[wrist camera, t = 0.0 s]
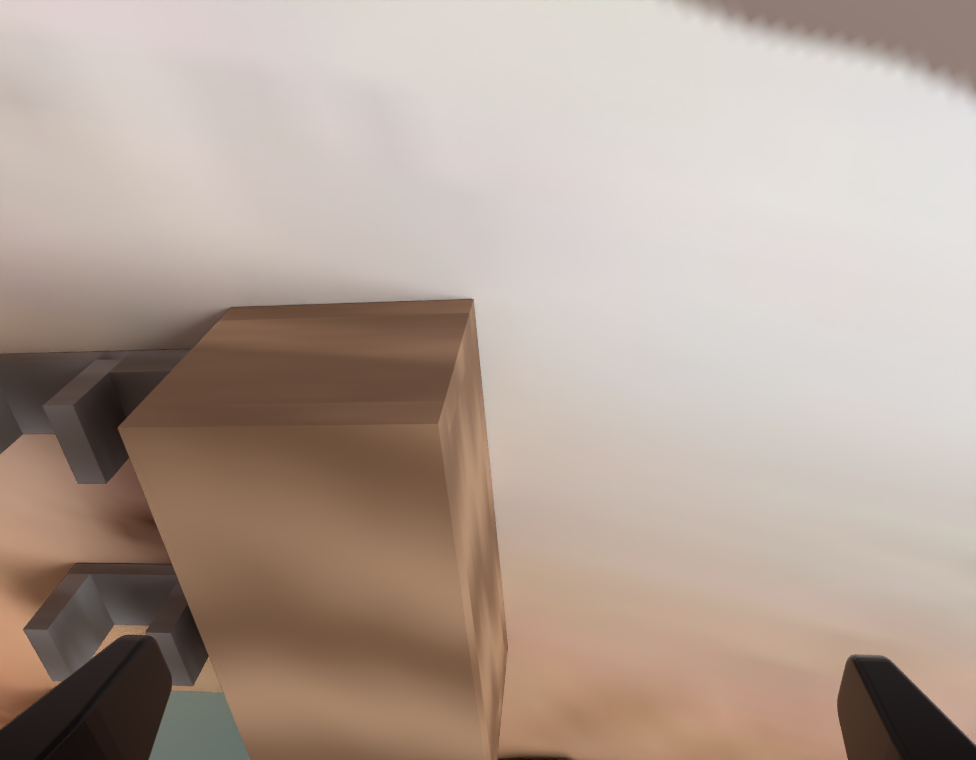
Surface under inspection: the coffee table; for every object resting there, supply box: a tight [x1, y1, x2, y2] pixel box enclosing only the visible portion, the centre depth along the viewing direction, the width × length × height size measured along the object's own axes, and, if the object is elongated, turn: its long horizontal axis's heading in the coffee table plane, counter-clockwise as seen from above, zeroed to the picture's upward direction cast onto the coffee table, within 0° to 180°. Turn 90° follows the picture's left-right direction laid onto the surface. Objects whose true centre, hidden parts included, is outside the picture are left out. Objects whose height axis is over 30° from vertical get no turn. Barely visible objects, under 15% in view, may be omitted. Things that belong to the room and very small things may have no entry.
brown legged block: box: [0, 299, 508, 760], centre depth 25 cm, size 16×18×7 cm
